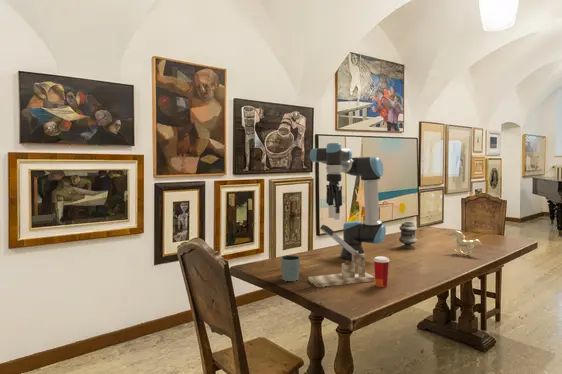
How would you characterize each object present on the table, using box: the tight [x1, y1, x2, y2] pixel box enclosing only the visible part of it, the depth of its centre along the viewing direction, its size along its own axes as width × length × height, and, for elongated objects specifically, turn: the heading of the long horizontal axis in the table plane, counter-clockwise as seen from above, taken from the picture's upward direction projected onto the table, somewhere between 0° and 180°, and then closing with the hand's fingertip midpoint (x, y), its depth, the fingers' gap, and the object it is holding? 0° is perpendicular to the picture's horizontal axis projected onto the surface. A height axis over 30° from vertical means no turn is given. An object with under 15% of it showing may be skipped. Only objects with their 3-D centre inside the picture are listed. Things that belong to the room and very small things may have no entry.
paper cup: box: [373, 256, 390, 288], centre depth 199 cm, size 8×8×14 cm
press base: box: [307, 251, 375, 288], centre depth 208 cm, size 32×12×14 cm, turn 108°
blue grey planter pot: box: [280, 254, 301, 282], centre depth 211 cm, size 10×10×12 cm
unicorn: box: [450, 227, 482, 256], centre depth 260 cm, size 20×4×17 cm, turn 45°
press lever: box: [319, 224, 359, 259], centre depth 207 cm, size 27×6×3 cm
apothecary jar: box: [398, 221, 418, 250], centre depth 284 cm, size 12×12×18 cm
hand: (334, 218), depth 205 cm, fingers open, 6 cm apart
